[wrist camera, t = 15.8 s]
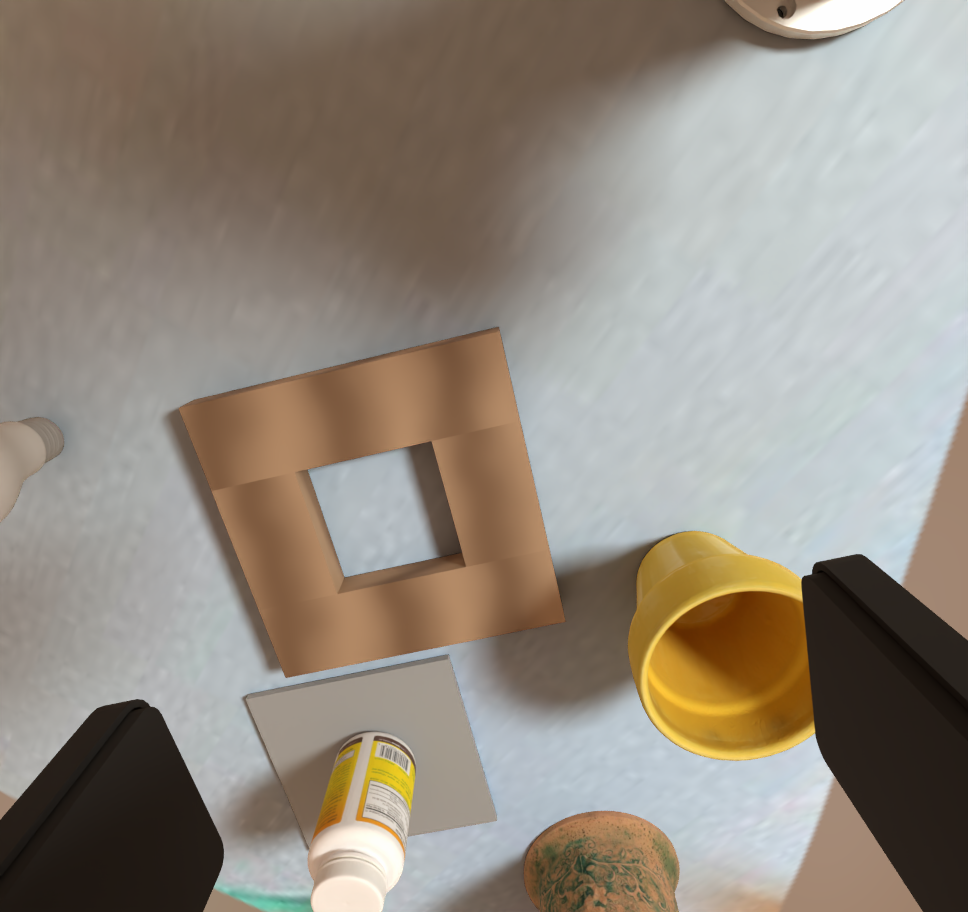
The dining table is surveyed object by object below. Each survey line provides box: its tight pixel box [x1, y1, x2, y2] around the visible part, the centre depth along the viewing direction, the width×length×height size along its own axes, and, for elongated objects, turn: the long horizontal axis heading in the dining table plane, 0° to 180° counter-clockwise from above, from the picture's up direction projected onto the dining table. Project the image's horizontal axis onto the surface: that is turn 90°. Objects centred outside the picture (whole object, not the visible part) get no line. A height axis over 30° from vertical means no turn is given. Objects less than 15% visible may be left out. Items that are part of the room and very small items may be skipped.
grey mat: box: [246, 655, 497, 849], centre depth 44 cm, size 14×14×1 cm
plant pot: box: [628, 531, 815, 761], centre depth 35 cm, size 10×10×10 cm
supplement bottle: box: [308, 732, 416, 912], centre depth 39 cm, size 6×6×10 cm
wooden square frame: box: [179, 327, 566, 678], centre depth 38 cm, size 18×18×2 cm
